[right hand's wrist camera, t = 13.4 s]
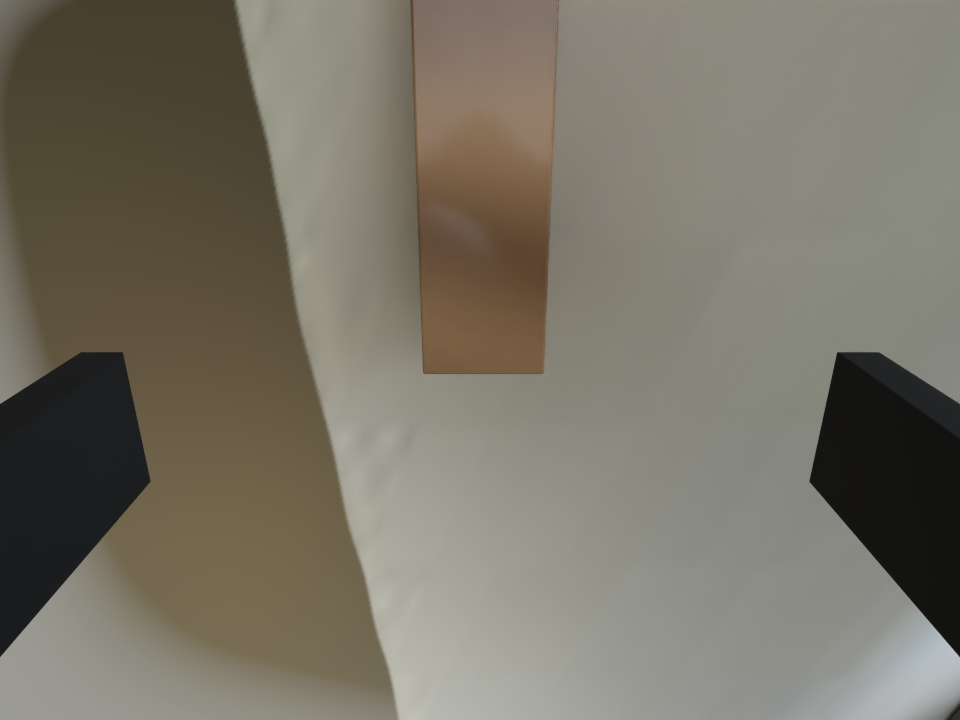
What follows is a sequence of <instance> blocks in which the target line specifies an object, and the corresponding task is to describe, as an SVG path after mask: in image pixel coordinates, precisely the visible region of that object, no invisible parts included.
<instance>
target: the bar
mask: <svg viewBox="0 0 960 720" xmlns="http://www.w3.org/2000/svg"><path fill="white" fill-rule="evenodd" d="M558 8H559V0H411V27H412V57H413V87H414V117H415V147H416V176H417V206H418V236H419V266H420V296H421V326H422V356H423V373H424V374H543V372H544V355H545V330H546V305H547V281H548V256H549V231H550V206H551V181H552V157H553V132H554V107H555V82H556V57H557V33H558Z"/></svg>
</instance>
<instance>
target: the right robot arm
mask: <svg viewBox="0 0 960 720" xmlns="http://www.w3.org/2000/svg"><path fill="white" fill-rule="evenodd" d="M809 482H810V483H811V484H812V485H813V486H814V487H815V489H816V490H817V491H818V492H819V493H820V494H821V496H822V497H823V498H824V499H825V500H826V501H827V503H828V504H829V505H830V506H831V507H832V508H833V510H834V511H835V512H836V513H837V514H838V515H839V517H840V518H841V519H842V520H843V521H844V522H845V524H846V525H847V526H848V527H849V528H850V529H851V531H852V532H853V533H854V534H855V535H856V536H857V538H858V539H859V540H860V541H861V542H862V543H863V545H864V546H865V547H866V548H867V549H868V550H869V552H870V553H871V554H872V555H873V556H874V557H875V559H876V560H877V561H878V562H879V563H880V564H881V566H882V567H883V568H884V569H885V570H886V571H887V573H888V574H889V575H890V576H891V577H892V578H893V580H894V581H895V582H896V583H897V584H898V585H899V587H900V588H901V589H902V590H903V591H904V592H905V594H906V595H907V596H908V597H909V598H910V599H911V601H912V602H913V603H914V604H915V605H916V606H917V608H918V609H919V610H920V611H921V612H922V613H923V615H924V616H925V617H926V618H927V619H928V620H929V622H930V623H931V624H932V625H933V626H934V627H935V629H936V630H937V631H938V632H939V633H940V634H941V636H942V637H943V638H944V639H945V640H946V641H947V643H948V644H949V645H950V646H951V647H952V648H953V650H954V651H955V652H956V653H957V654H958V655H959V657H960V404H959V403H957V402H956V401H954V400H953V399H951V398H950V397H948V396H946V395H945V394H943V393H942V392H940V391H939V390H937V389H935V388H934V387H932V386H931V385H929V384H928V383H926V382H924V381H923V380H921V379H920V378H918V377H917V376H915V375H914V374H912V373H910V372H909V371H907V370H906V369H904V368H903V367H901V366H899V365H898V364H896V363H895V362H893V361H892V360H890V359H888V358H887V357H885V356H884V355H882V354H881V353H879V352H837V356H836V361H835V365H834V370H833V375H832V379H831V384H830V389H829V393H828V398H827V402H826V407H825V412H824V416H823V421H822V426H821V430H820V435H819V439H818V444H817V449H816V453H815V458H814V463H813V467H812V472H811V477H810V481H809ZM149 483H150V477H149V472H148V467H147V463H146V458H145V453H144V449H143V444H142V440H141V435H140V430H139V426H138V421H137V416H136V412H135V407H134V402H133V398H132V393H131V389H130V384H129V379H128V375H127V370H126V365H125V361H124V356H123V353H122V352H81V353H79V354H78V355H76V356H75V357H73V358H72V359H70V360H68V361H67V362H65V363H64V364H62V365H61V366H59V367H57V368H56V369H54V370H53V371H51V372H50V373H48V374H47V375H45V376H43V377H42V378H40V379H39V380H37V381H36V382H34V383H32V384H31V385H29V386H28V387H26V388H25V389H23V390H21V391H20V392H18V393H17V394H15V395H14V396H12V397H10V398H9V399H7V400H6V401H4V402H3V403H1V404H0V657H1V655H2V654H3V653H4V652H5V651H6V650H7V648H8V647H9V646H10V645H11V644H12V643H13V641H14V640H15V639H16V638H17V637H18V635H19V634H20V633H21V632H22V631H23V630H24V629H25V627H26V626H27V625H28V624H29V623H30V622H31V620H32V619H33V618H34V617H35V616H36V615H37V613H38V612H39V611H40V610H41V609H42V608H43V606H44V605H45V604H46V603H47V602H48V601H49V599H50V598H51V597H52V596H53V595H54V594H55V592H56V591H57V590H58V589H59V588H60V587H61V585H62V584H63V583H64V582H65V581H66V580H67V578H68V577H69V576H70V575H71V574H72V573H73V571H74V570H75V569H76V568H77V567H78V566H79V564H80V563H81V562H82V561H83V560H84V559H85V557H86V556H87V555H88V554H89V553H90V552H91V550H92V549H93V548H94V547H95V546H96V545H97V543H98V542H99V541H100V540H101V539H102V538H103V536H104V535H105V534H106V533H107V532H108V531H109V529H110V528H111V527H112V526H113V525H114V524H115V522H116V521H117V520H118V519H119V518H120V517H121V515H122V514H123V513H124V512H125V511H126V510H127V508H128V507H129V506H130V505H131V504H132V503H133V501H134V500H135V499H136V498H137V497H138V496H139V494H140V493H141V492H142V491H143V490H144V489H145V487H146V486H147V485H148V484H149ZM951 720H960V709H959V710H958V711H957V712H956V713H955V715H954V716H953V717H952V718H951Z"/></svg>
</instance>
